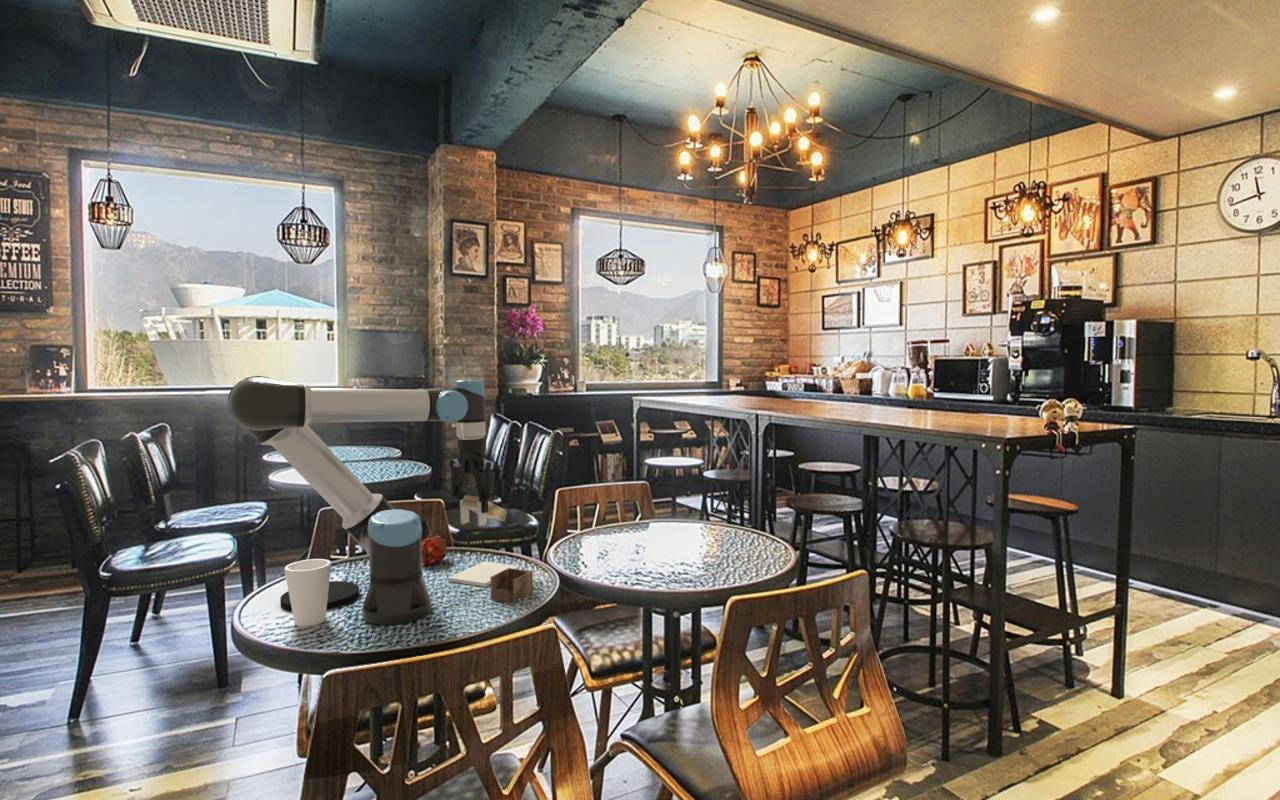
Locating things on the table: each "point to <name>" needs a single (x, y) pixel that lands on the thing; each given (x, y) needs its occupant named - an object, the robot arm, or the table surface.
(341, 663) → the table surface
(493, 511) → the maple bar
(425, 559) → the dragon fruit
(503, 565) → the cream pad
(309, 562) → the foam cup
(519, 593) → the box
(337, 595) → the wireless charger
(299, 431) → the robot arm
